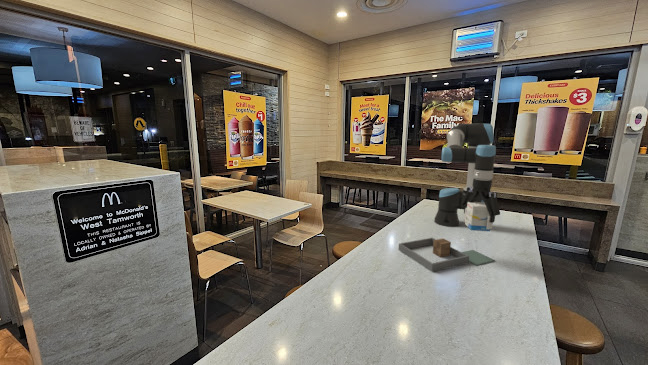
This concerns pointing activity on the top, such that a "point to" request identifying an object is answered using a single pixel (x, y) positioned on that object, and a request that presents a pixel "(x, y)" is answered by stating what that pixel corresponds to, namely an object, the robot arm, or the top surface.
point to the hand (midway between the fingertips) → (477, 224)
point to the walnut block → (441, 247)
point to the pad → (477, 258)
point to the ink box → (477, 216)
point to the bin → (405, 249)
